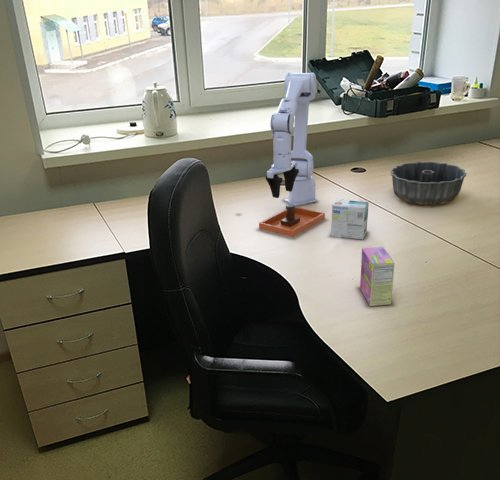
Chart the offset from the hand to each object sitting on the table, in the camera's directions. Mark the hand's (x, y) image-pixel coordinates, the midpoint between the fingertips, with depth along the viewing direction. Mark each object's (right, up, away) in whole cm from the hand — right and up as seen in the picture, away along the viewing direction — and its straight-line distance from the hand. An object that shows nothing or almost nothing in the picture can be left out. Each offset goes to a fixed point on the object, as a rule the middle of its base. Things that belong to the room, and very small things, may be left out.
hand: (282, 194), depth 194 cm
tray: (+4, -9, +4) cm, 11 cm away
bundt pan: (+54, +4, +23) cm, 58 cm away
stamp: (+3, -9, +4) cm, 10 cm away
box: (+22, -37, -41) cm, 59 cm away
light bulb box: (+21, -14, -5) cm, 26 cm away
